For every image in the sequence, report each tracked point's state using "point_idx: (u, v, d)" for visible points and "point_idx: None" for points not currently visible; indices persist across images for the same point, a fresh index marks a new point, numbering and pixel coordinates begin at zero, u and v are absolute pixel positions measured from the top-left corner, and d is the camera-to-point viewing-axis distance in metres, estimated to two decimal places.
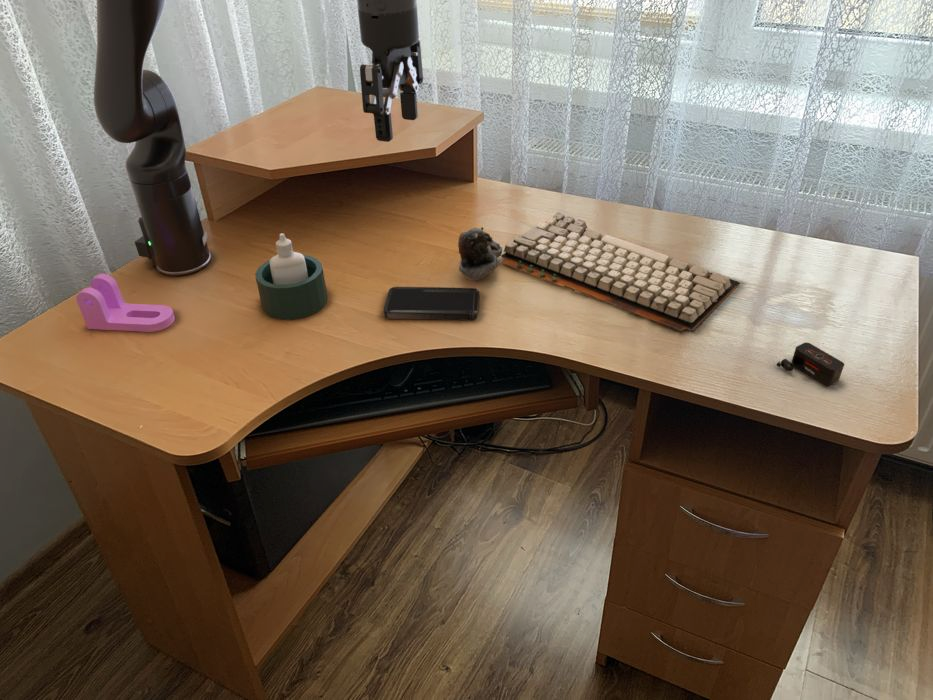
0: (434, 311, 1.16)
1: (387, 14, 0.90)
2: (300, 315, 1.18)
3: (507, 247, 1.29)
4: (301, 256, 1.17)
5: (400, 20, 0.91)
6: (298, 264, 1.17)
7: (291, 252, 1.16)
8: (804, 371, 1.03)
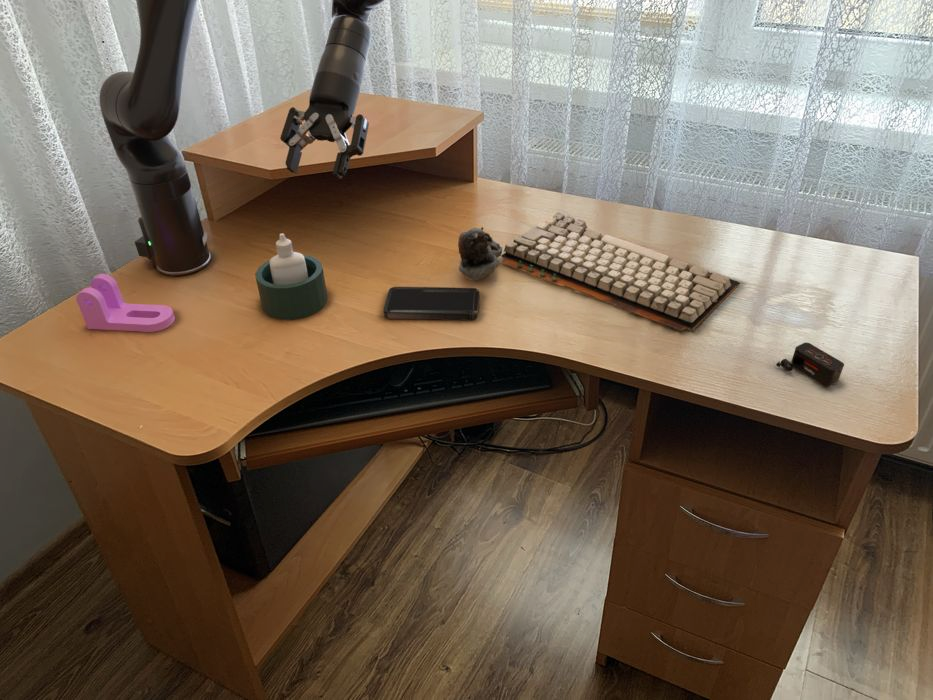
0: (434, 311, 1.16)
1: None
2: (300, 315, 1.18)
3: (507, 247, 1.29)
4: (301, 256, 1.17)
5: (315, 78, 1.19)
6: (298, 264, 1.17)
7: (291, 252, 1.16)
8: (804, 371, 1.03)
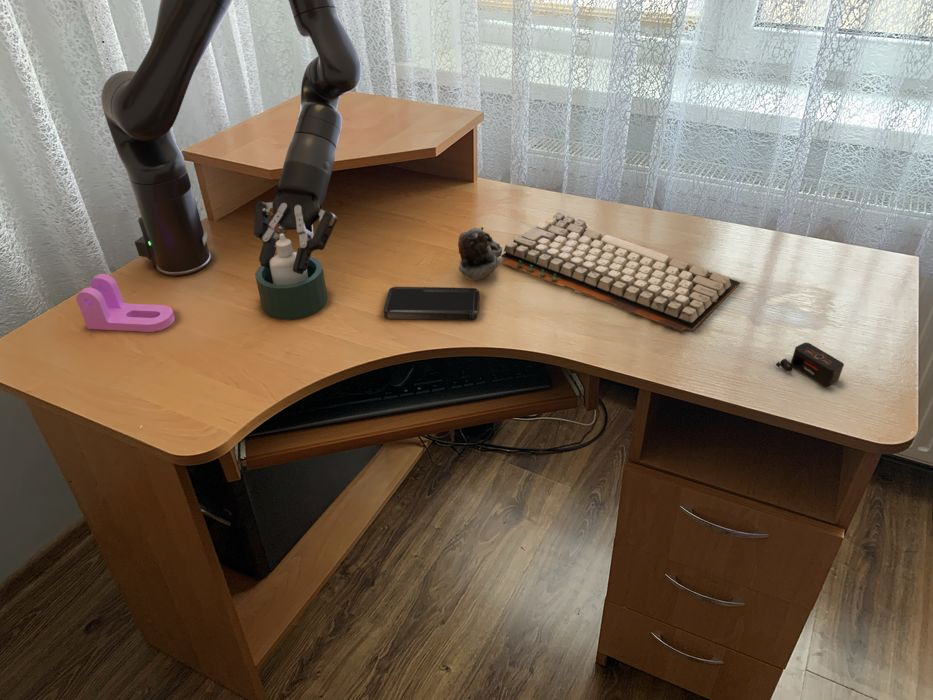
0: (434, 311, 1.16)
1: None
2: (300, 315, 1.18)
3: (507, 247, 1.29)
4: None
5: (283, 167, 1.16)
6: None
7: (291, 252, 1.16)
8: (803, 371, 1.03)
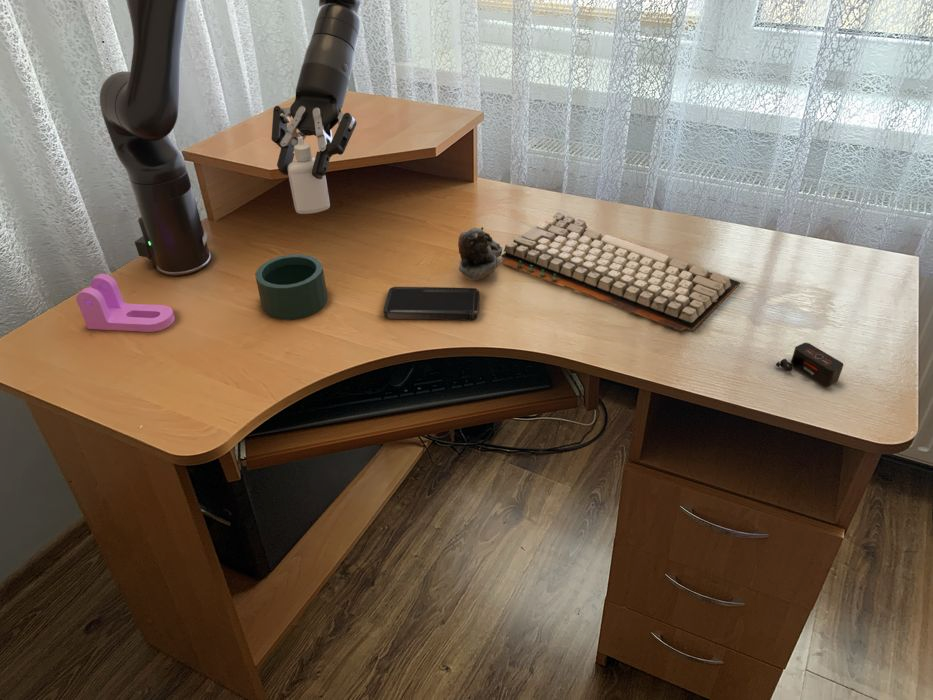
0: (434, 311, 1.16)
1: None
2: (300, 315, 1.18)
3: (507, 247, 1.29)
4: None
5: (301, 70, 1.13)
6: None
7: (310, 157, 1.13)
8: (803, 371, 1.03)
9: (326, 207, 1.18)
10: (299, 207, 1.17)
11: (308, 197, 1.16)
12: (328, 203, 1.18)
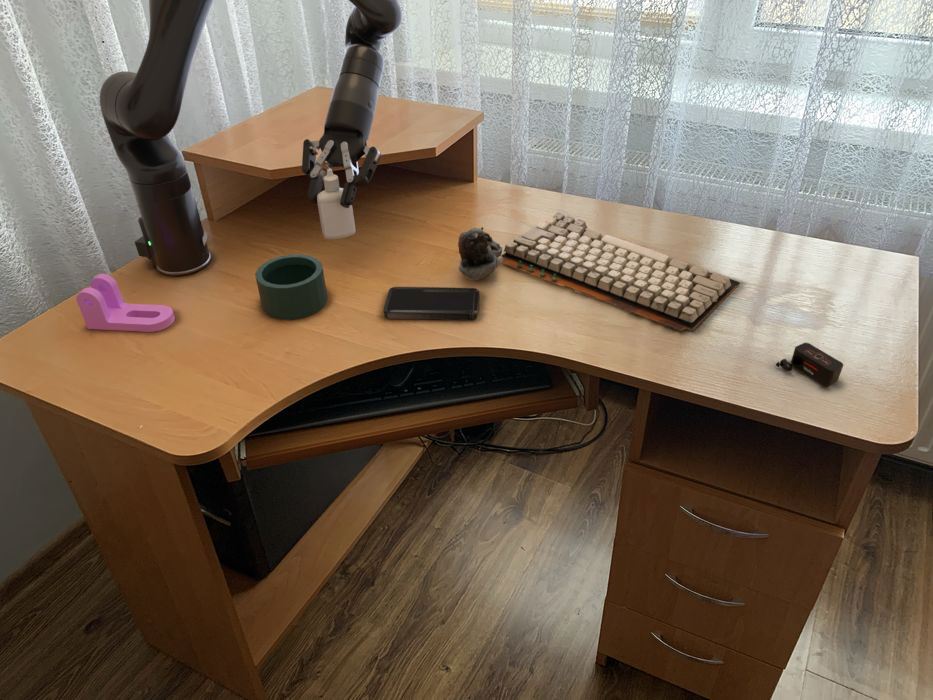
0: (434, 311, 1.16)
1: None
2: (300, 315, 1.18)
3: (507, 247, 1.29)
4: None
5: (330, 106, 1.22)
6: None
7: (338, 187, 1.22)
8: (803, 371, 1.03)
9: (352, 233, 1.27)
10: (327, 233, 1.25)
11: (336, 224, 1.24)
12: (354, 229, 1.27)
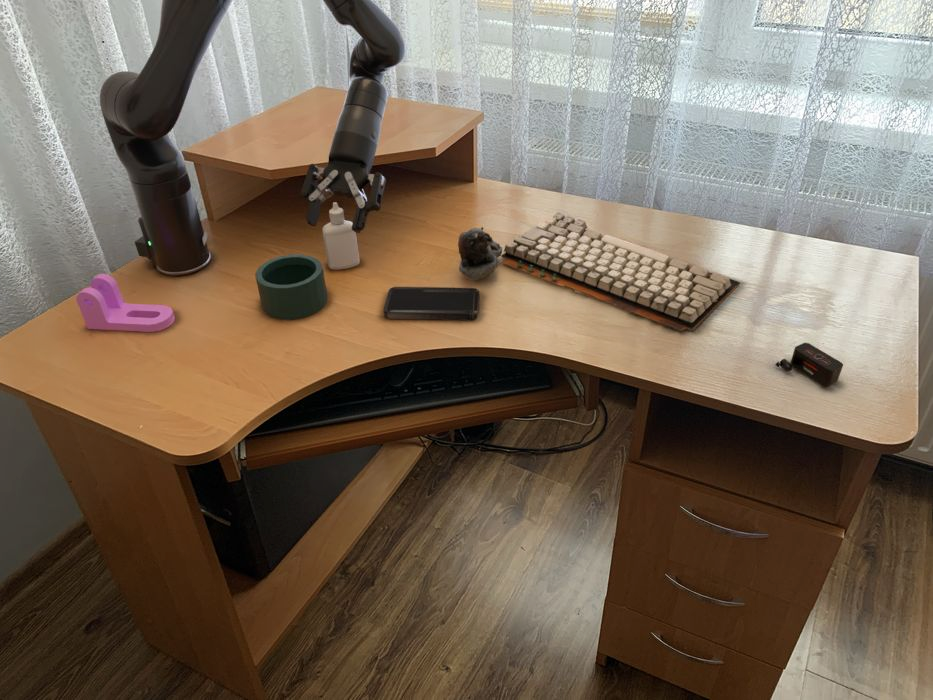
0: (434, 311, 1.16)
1: None
2: (300, 315, 1.18)
3: (507, 247, 1.29)
4: None
5: (334, 137, 1.25)
6: (349, 231, 1.26)
7: (343, 220, 1.25)
8: (803, 371, 1.03)
9: (356, 263, 1.30)
10: (332, 264, 1.29)
11: (341, 255, 1.28)
12: (358, 260, 1.30)
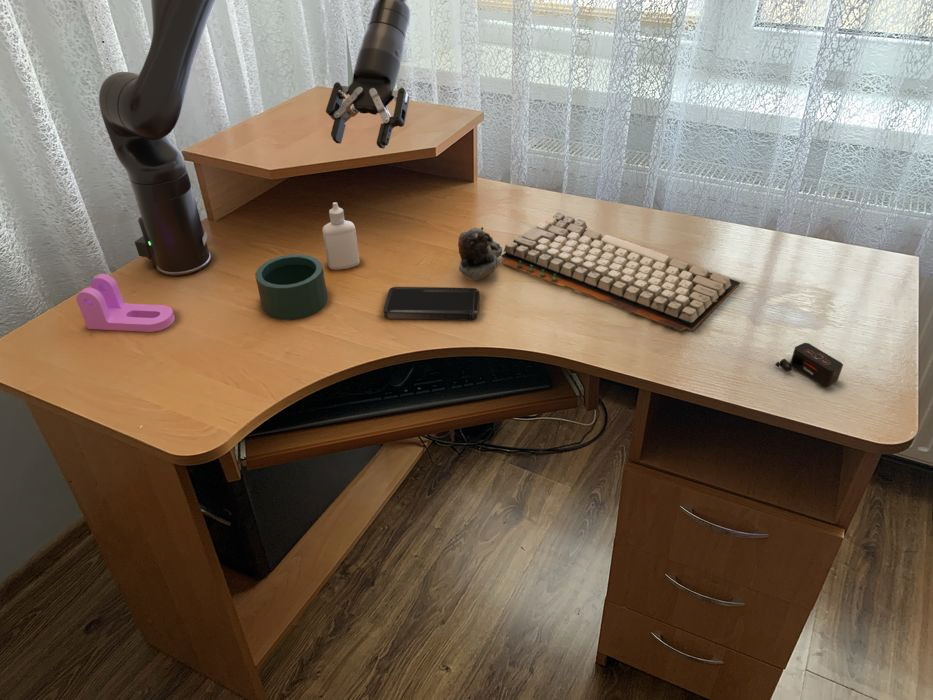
0: (434, 311, 1.16)
1: None
2: (300, 315, 1.18)
3: (507, 247, 1.29)
4: (352, 224, 1.27)
5: (359, 54, 1.27)
6: (349, 231, 1.26)
7: (343, 220, 1.25)
8: (803, 371, 1.03)
9: (356, 263, 1.30)
10: (332, 264, 1.29)
11: (341, 255, 1.28)
12: (358, 260, 1.30)
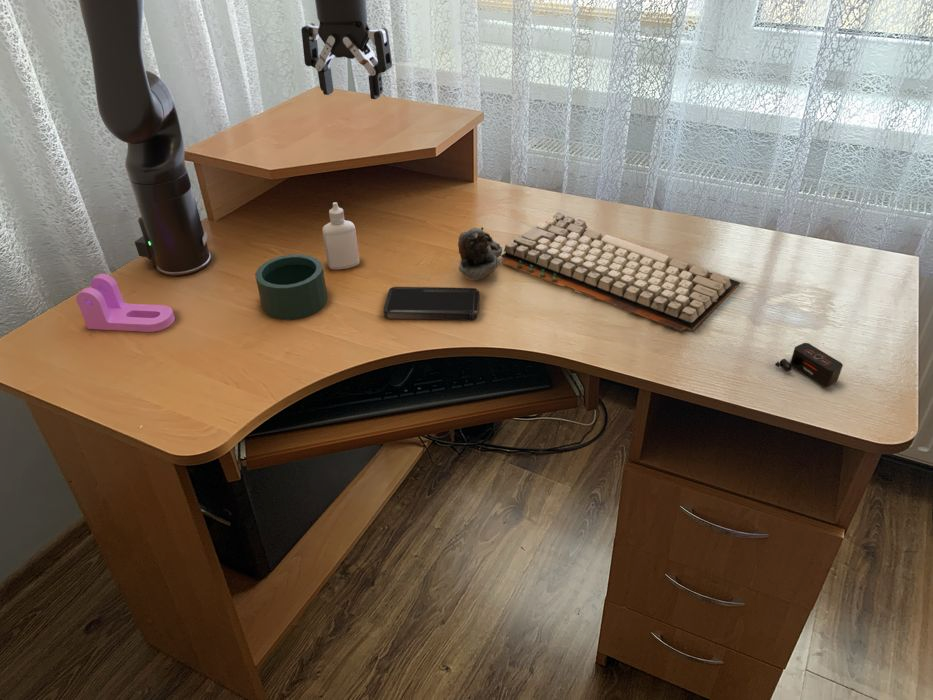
0: (434, 311, 1.16)
1: None
2: (300, 315, 1.18)
3: (507, 247, 1.29)
4: (352, 224, 1.27)
5: None
6: (349, 231, 1.26)
7: (343, 220, 1.25)
8: (803, 371, 1.03)
9: (356, 263, 1.30)
10: (332, 264, 1.29)
11: (341, 255, 1.28)
12: (358, 260, 1.30)
